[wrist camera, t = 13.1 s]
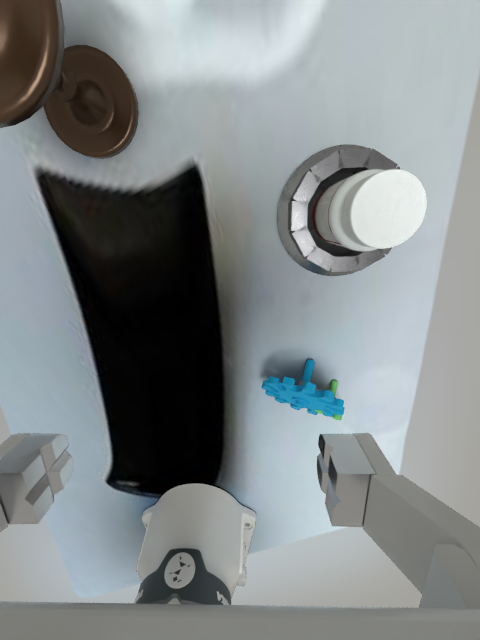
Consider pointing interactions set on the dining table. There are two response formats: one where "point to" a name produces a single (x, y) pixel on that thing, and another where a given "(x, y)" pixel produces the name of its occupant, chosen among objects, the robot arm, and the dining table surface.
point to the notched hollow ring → (300, 202)
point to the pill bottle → (370, 210)
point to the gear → (306, 394)
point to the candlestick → (62, 81)
